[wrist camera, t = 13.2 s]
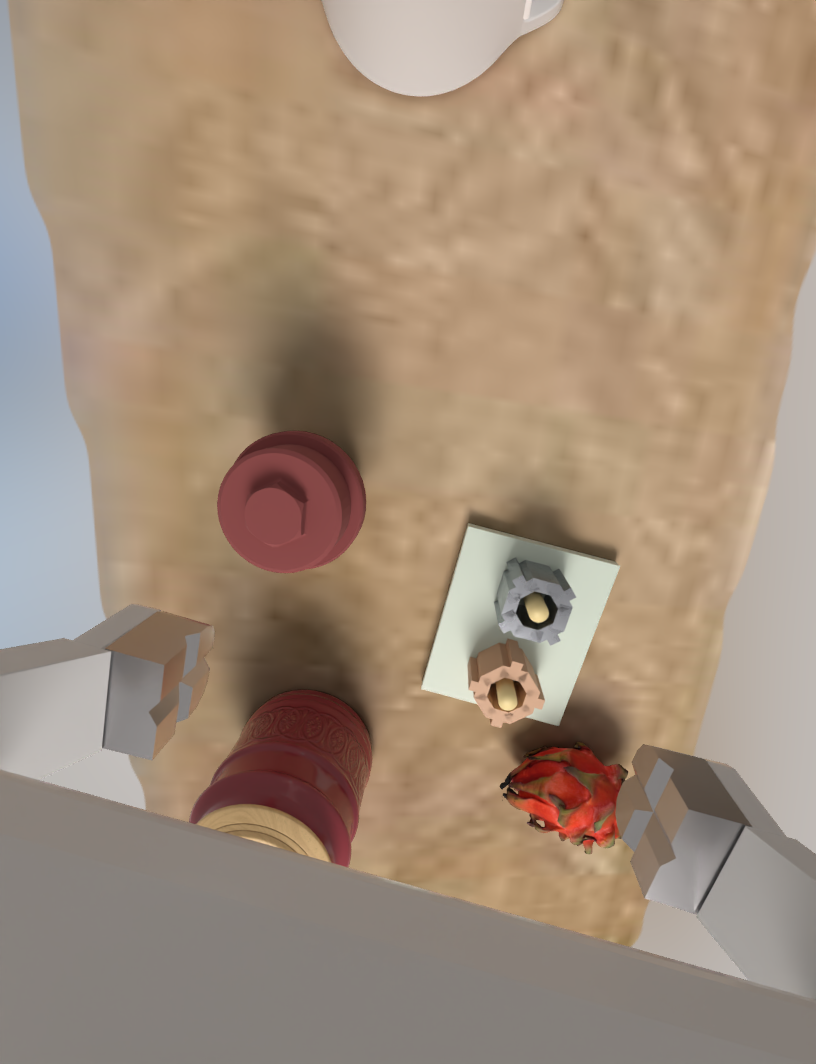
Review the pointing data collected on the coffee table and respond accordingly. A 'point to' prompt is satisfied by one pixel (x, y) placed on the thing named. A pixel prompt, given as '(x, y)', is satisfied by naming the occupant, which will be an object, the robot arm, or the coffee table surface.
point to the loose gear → (524, 582)
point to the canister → (293, 778)
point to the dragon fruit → (568, 794)
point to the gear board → (501, 658)
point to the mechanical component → (291, 502)
